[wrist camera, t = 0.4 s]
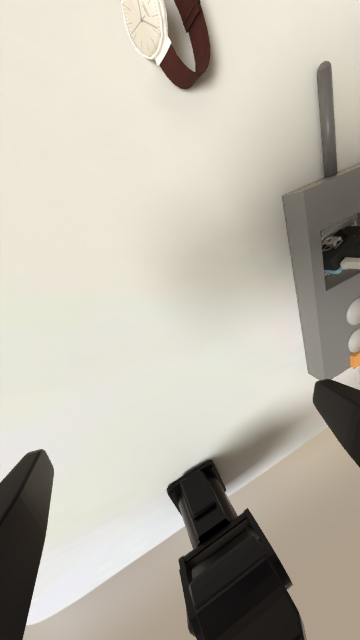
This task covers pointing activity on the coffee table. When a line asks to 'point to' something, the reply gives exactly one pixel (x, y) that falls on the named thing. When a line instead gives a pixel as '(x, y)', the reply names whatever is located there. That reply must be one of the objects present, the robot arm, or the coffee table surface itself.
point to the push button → (342, 250)
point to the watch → (152, 36)
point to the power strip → (307, 260)
